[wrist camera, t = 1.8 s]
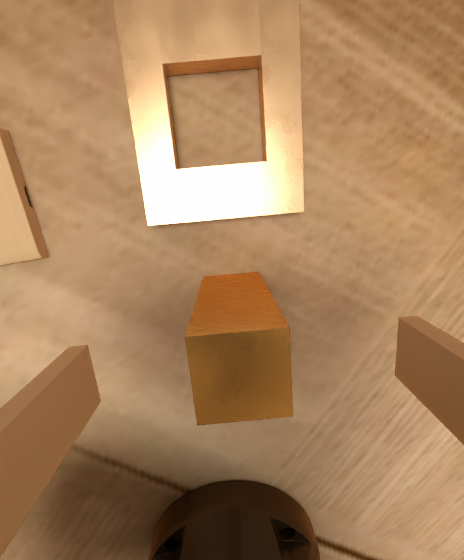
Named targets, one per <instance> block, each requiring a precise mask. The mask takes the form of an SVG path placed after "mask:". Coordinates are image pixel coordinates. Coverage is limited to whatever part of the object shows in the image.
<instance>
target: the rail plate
mask: <svg viewBox="0 0 464 560" xmlns="http://www.w3.org/2000/svg"><path fill="white" fill-rule="evenodd" d="M113 6H114V12H115V19H116V25H117V31H118V38H119V44H120V51H121V57H122V63H123V70H124V76H125V83H126V89H127V95H128V102H129V108H130V115H131V121H132V127H133V134H134V140H135V147H136V153H137V159H138V166H139V172H140V178H141V185H142V191H143V198H144V204H145V210H146V217H147V223H148V226H151V225H162V224H173V223H184V222H196V221H207V220H218V219H229V218H240V217H251V216H263V215H274V214H285V213H296V212H304V191H303V149H302V108H301V67H300V25H299V0H113ZM254 68H258V74H259V92H260V110H261V128H262V146H263V162H254V163H243V164H231V165H220V166H209V167H197V168H186V169H179V166H178V158H177V150H176V142H175V134H174V126H173V118H172V110H171V101H170V93H169V85H168V77H167V76H173V75H184V74H196V73H208V72H219V71H231V70H242V69H254Z"/></svg>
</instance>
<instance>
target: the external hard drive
mask: <svg viewBox="0 0 464 560" xmlns="http://www.w3.org/2000/svg"><path fill="white" fill-rule="evenodd" d="M25 186H26V185H25V181H24V178H23V175H22V172H21V169H20V166H19V163H18V160H17V156H16V153H15V150H14V147H13V144H12V141H11V138H10V135H9V132H8V131H6V130H4V129H1V128H0V265H5V264H11V263H17V262H22V261H28V260H35V259H41V258H45V257H48V256H49V255H48V252H47V249H46V246H45V243H44V240H43V237H42V234H41V231H40V228H39V225H38V222H37V219H36V216H35V213H34V209H33V208H32V207H30V205H29V202H28V199H27V196H26V193H25V190H24V188H25Z"/></svg>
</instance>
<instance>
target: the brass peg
mask: <svg viewBox="0 0 464 560" xmlns="http://www.w3.org/2000/svg"><path fill="white" fill-rule="evenodd" d="M185 340H186V347H187V354H188V361H189V369H190V376H191V383H192V390H193V398H194V405H195V412H196V420H197V425H206V424H217V423H227V422H238V421H249V420H259V419H270V418H281V417H291V416H293V403H292V379H291V354H290V329H289V326H288V324H287V322H286V320H285V319H284V317H283V315H282V313H281V311H280V310H279V308H278V306H277V304H276V302H275V301H274V299H273V297H272V295H271V293H270V292H269V290H268V288H267V286H266V285H265V283H264V281H263V279H262V277H261V276H260V274H259V272H251V273H240V274H229V275H218V276H207V277H203V280H202V283H201V287H200V290H199V293H198V296H197V300H196V303H195V306H194V310H193V313H192V316H191V319H190V323H189V326H188V329H187V333H186V336H185Z"/></svg>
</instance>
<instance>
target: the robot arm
mask: <svg viewBox="0 0 464 560" xmlns="http://www.w3.org/2000/svg"><path fill="white" fill-rule="evenodd" d="M395 376H396V377H397V378H398V379H399V380H400V381H401V382H402V383H403V384H404V385H405V386H406V387H407V388H408V389H409V390H410V391H411V392H412V393H413V394H414V395H415V396H416V397H417V398H418V399H419V400H420V401H421V402H422V403H423V404H424V405H425V406H426V407H427V408H428V409H429V410H430V411H431V412H432V413H433V414H434V415H435V416H436V417H437V418H438V419H439V420H440V421H441V422H442V423H443V424H444V425H445V426H446V427H447V428H448V429H449V430H450V431H451V432H452V433H453V434H454V435H455V436H456V437H457V438H458V439H459V440H460V441H461V442H462V443H463V444H464V343H463V342H461V341H459V340H457V339H456V338H454V337H452V336H451V335H449V334H447V333H445V332H444V331H442V330H440V329H438V328H437V327H435V326H433V325H432V324H430V323H428V322H426V321H425V320H423V319H421V318H419V317H418V316H413V317H402V318H399V323H398V337H397V352H396V367H395ZM100 402H101V399H100V395H99V391H98V386H97V382H96V378H95V374H94V370H93V365H92V361H91V357H90V353H89V349H88V345H83V346H72V347H69V348H68V349H66V350H65V351H64V352H63V353H62V354H61V355H60V356H59V357H57V358H56V359H55V360H54V361H53V362H52V363H51V364H50V365H49V366H47V367H46V368H45V369H44V370H43V371H42V372H41V373H40V374H39V375H37V376H36V377H35V378H34V379H33V380H32V381H31V382H30V383H28V384H27V385H26V386H25V387H24V388H23V389H22V390H21V391H20V392H18V393H17V394H16V395H15V396H14V397H13V398H12V399H11V400H10V401H8V402H7V403H6V404H5V405H4V406H3V407H2V408H1V409H0V557H1V556H2V554H3V553H4V551H5V549H6V548H7V546H8V545H9V543H10V542H11V540H12V539H13V537H14V535H15V534H16V532H17V531H18V529H19V528H20V526H21V525H22V523H23V521H24V520H25V518H26V517H27V515H28V514H29V512H30V511H31V509H32V507H33V506H34V504H35V503H36V501H37V500H38V498H39V497H40V495H41V494H42V492H43V490H44V489H45V487H46V486H47V484H48V483H49V481H50V480H51V478H52V476H53V475H54V473H55V472H56V470H57V469H58V467H59V466H60V464H61V462H62V461H63V459H64V458H65V456H66V455H67V453H68V452H69V450H70V448H71V447H72V445H73V444H74V442H75V441H76V439H77V438H78V436H79V434H80V433H81V431H82V430H83V428H84V427H85V425H86V424H87V422H88V420H89V419H90V417H91V416H92V414H93V413H94V411H95V410H96V408H97V406H98V405H99V403H100ZM149 560H320V554H319V550H318V546H317V542H316V539H315V535H314V532H313V528H312V524H311V522H310V520H309V518H308V516H307V514H306V513H305V511H304V510H303V509H302V507H301V506H300V505H299V504H298V503H297V502H296V501H294V500H293V499H292V498H291V497H289V496H288V495H286V494H284V493H283V492H281V491H279V490H276V489H274V488H272V487H269V486H265V485H262V484H257V483H251V482H222V483H216V484H212V485H208V486H205V487H201V488H199V489H196V490H194V491H192V492H190V493H188V494H186V495H184V496H183V497H181V498H180V499H178V500H177V501H176V502H175V503H173V504H172V505H171V506H170V507H169V508H168V509H167V510H166V512H165V513H164V514H163V515H162V517H161V518H160V520H159V522H158V524H157V526H156V529H155V532H154V536H153V541H152V546H151V550H150V555H149Z"/></svg>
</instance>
